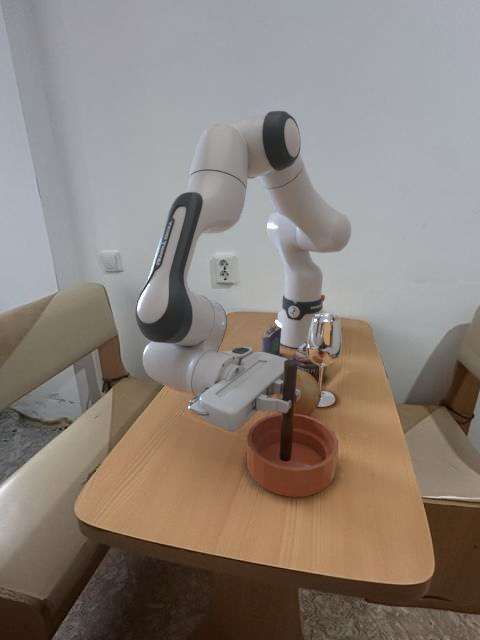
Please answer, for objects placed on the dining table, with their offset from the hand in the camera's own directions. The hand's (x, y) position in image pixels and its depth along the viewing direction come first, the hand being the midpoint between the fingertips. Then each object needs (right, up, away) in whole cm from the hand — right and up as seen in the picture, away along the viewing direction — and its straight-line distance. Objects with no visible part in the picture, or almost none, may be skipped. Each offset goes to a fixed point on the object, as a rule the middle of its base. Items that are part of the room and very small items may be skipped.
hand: (294, 401), depth 58 cm
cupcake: (+9, +1, +38) cm, 39 cm away
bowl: (+1, -13, +9) cm, 15 cm away
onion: (+4, -6, +24) cm, 25 cm away
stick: (-1, -10, +5) cm, 11 cm away
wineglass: (+10, -3, +29) cm, 31 cm away
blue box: (0, +5, +48) cm, 48 cm away
